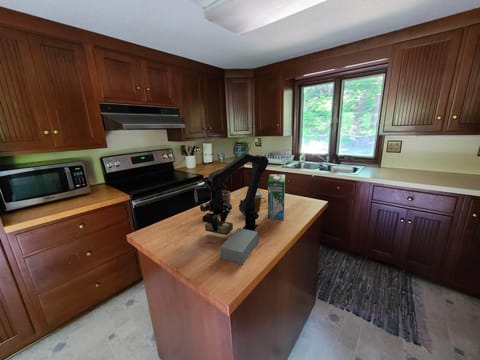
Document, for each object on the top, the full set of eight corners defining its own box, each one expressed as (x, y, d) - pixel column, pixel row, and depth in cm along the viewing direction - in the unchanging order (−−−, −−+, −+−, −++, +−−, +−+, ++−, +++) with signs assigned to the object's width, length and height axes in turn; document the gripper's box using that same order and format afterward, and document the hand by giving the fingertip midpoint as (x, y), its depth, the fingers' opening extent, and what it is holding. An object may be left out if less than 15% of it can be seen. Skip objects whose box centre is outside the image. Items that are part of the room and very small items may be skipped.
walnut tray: (205, 230, 102) (204, 224, 102) (212, 225, 108) (212, 218, 107) (226, 235, 97) (226, 228, 97) (232, 229, 103) (232, 222, 102)
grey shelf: (238, 238, 101) (238, 228, 99) (258, 242, 96) (257, 231, 95) (220, 258, 85) (220, 247, 84) (242, 264, 81) (242, 252, 80)
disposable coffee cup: (244, 211, 133) (243, 193, 130) (254, 206, 139) (253, 190, 137) (255, 215, 126) (255, 196, 123) (265, 210, 133) (265, 192, 130)
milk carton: (267, 218, 121) (268, 177, 115) (269, 212, 129) (269, 173, 123) (283, 220, 119) (284, 177, 113) (284, 213, 127) (285, 174, 121)
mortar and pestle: (220, 217, 125) (219, 185, 120) (211, 213, 130) (209, 183, 125) (234, 211, 133) (232, 181, 128) (224, 208, 139) (223, 179, 134)
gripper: (213, 191, 110) (215, 218, 114) (191, 203, 94) (194, 233, 98) (231, 193, 105) (233, 221, 109) (212, 206, 89) (214, 238, 93)
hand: (219, 228), depth 103 cm, fingers closed on walnut tray, 6 cm apart
